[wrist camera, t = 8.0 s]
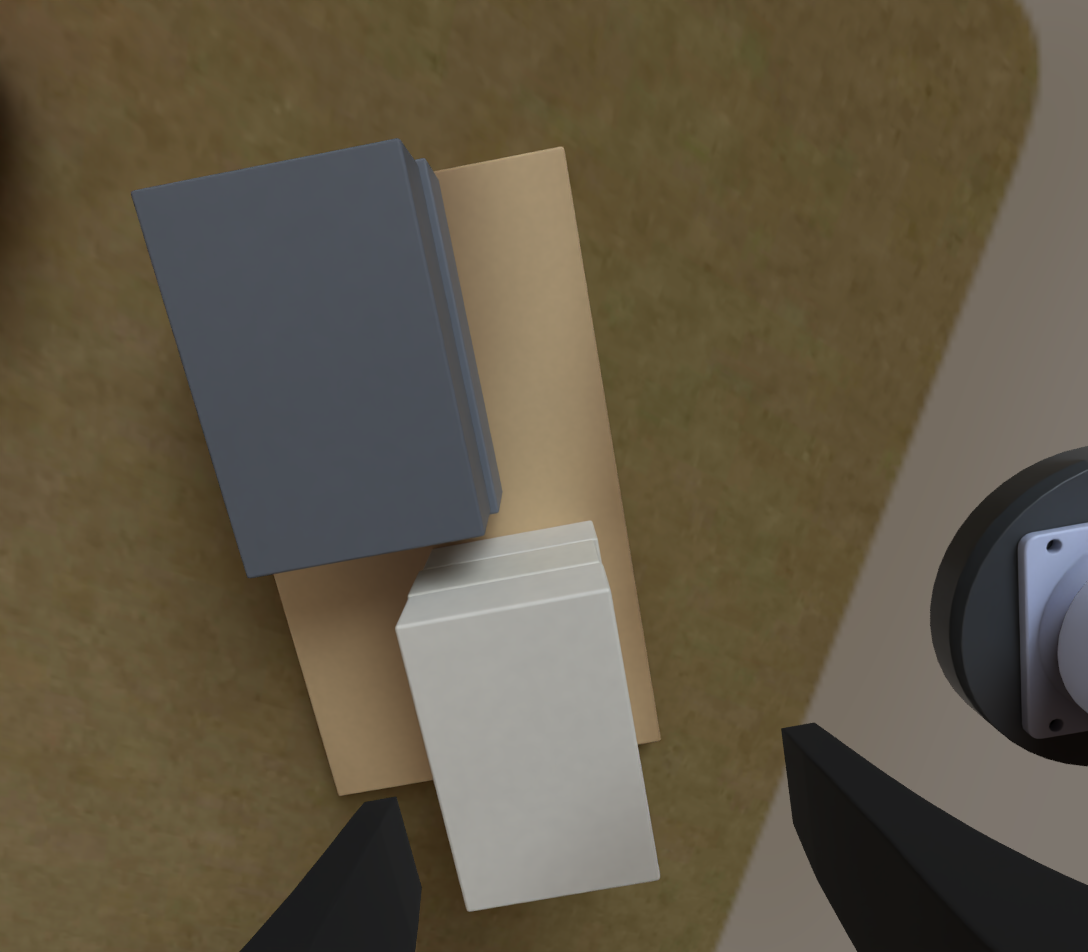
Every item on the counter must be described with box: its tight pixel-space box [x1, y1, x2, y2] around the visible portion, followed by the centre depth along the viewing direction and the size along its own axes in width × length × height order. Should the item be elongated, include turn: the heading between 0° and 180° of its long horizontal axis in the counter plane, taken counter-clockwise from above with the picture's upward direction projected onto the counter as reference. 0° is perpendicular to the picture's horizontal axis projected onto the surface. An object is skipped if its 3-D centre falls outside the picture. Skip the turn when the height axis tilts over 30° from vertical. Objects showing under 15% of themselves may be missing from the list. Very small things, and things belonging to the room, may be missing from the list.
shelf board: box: [274, 147, 661, 796], centre depth 20 cm, size 11×18×1 cm, turn 10°
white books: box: [407, 521, 602, 598], centre depth 19 cm, size 5×8×4 cm, turn 11°
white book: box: [395, 563, 660, 912], centre depth 16 cm, size 5×8×2 cm, turn 10°
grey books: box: [131, 138, 503, 578], centre depth 17 cm, size 6×9×4 cm, turn 11°
